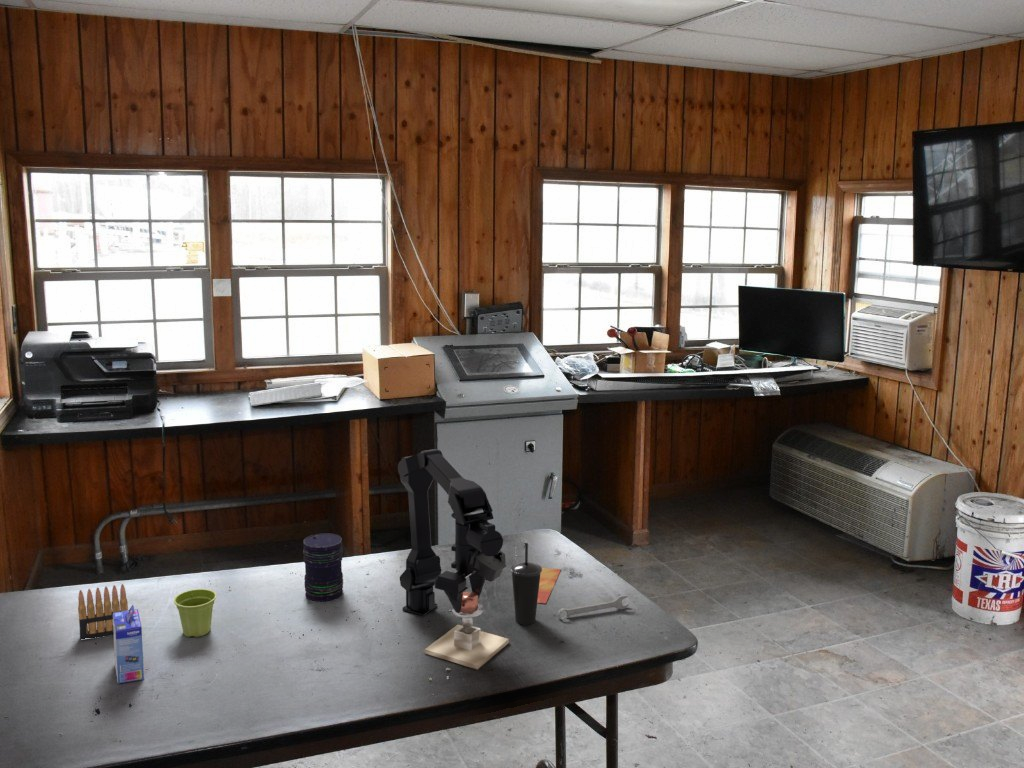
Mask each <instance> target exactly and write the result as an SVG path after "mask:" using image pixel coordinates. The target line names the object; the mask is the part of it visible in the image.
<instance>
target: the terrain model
mask: <svg viewBox="0 0 1024 768" xmlns="http://www.w3.org/2000/svg"><path fill="white" fill-rule="evenodd" d="M560 573H561V568H560V569H559V568H547V567H542V572H541V574H540V583H539V592H538V600H537V604H547V602H548V599H549V597H550V595H551V592H552V591H553V588H554V587H555V584H556V581H557V579H558V577H559V575H560Z"/></svg>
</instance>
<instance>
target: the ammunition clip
mask: <svg viewBox="0 0 1024 768" xmlns="http://www.w3.org/2000/svg"><path fill="white" fill-rule="evenodd" d="M108 588H109V587H108V586H105V587H104V590H103V601H102V594H101V590H100V587H96V590H95V604H94V597H93V596H94V595H93V593H92V592H93V591H92V590H91V589H90V588H88V589H87V594H86V601H85V596H84V593H83V591H82V589H80V590H79V591H78V605H77V606H78V607H77V609H78V611H77V612H78V623H79V641H80V640H81V639H85V638H94V639H97V637H100V638H105V637H110V636H114V630H113V613H116V612H121V611H127V610H129V601H128V599H127V593H126V592H127V591H126V588H125V585H124V583H121V585H120V594H119V595H118V589H117V587H116V585H115V584H113V586H112V589H111V596H112V597H110V591H109V589H108ZM103 636H105V637H103ZM95 637H96V638H95ZM81 641H82V640H81Z"/></svg>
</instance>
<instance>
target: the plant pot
mask: <svg viewBox="0 0 1024 768" xmlns="http://www.w3.org/2000/svg"><path fill="white" fill-rule="evenodd" d="M216 599H217V593H216V592H215V591H213V590H211V589H207V588H205V589H204V588H197V589H195V588H194V589H190V590H186V591H183V592H181V593H179V594H177V595H176V596H175V597H174V599H173V603H174V605H175V606H176V609H177V610H178V614H179V619H180V624H181V627H182V633H183V634H184V636H186V637H189V638H190V637H195V638H197V637H198V638H199V637H203V636H205V635H207V634H208V633H209V632H210V630H211V629H212V620H213V619H212V617H213V610H214V609H213V608H214V604H215V601H216Z"/></svg>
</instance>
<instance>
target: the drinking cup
mask: <svg viewBox="0 0 1024 768" xmlns="http://www.w3.org/2000/svg"><path fill="white" fill-rule="evenodd" d="M542 568H543V567H542V566H541V565H540V564H538V563H535V562H531V561H529V543H527V542H526V543H524V561H520V562H517V563H515V564H512V565H511V566H510V572H511V579H512V581H511V582H512V591H513V603H514V615H515V622H516V623H517V624H519V625H522V626H523V625H524V626H527V625H528V626H529V625H532V624H534V623H535V622H536V617H537V607H538V603H537V600H538V592H539V583H540V574H541V572H542Z"/></svg>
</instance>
